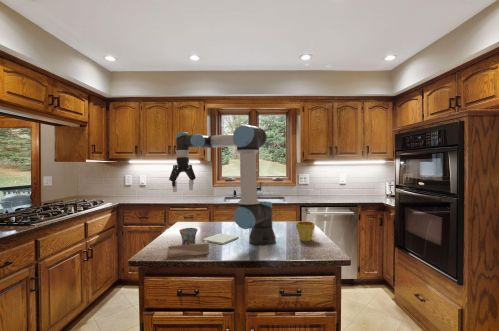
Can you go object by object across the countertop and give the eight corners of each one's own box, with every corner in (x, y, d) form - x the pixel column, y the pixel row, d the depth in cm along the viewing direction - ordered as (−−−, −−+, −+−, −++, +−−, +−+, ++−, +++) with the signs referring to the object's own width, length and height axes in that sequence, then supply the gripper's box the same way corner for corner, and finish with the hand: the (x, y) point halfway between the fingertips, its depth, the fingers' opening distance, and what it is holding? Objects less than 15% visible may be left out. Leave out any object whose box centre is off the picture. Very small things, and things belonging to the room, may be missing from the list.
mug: (197, 252, 139) (197, 231, 139) (178, 253, 138) (178, 232, 138) (198, 245, 151) (198, 226, 151) (181, 246, 150) (180, 227, 150)
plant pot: (313, 243, 153) (313, 225, 152) (295, 241, 156) (294, 224, 156) (315, 238, 162) (315, 221, 162) (297, 236, 166) (297, 220, 166)
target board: (238, 238, 164) (238, 236, 164) (223, 244, 152) (223, 242, 152) (219, 235, 172) (219, 233, 172) (202, 240, 160) (202, 239, 160)
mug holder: (170, 246, 151) (170, 236, 151) (206, 243, 155) (206, 234, 155) (168, 256, 133) (168, 246, 133) (208, 253, 137) (208, 243, 137)
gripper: (192, 157, 185) (193, 189, 185) (162, 156, 164) (163, 192, 164) (200, 157, 181) (201, 189, 181) (171, 156, 160) (171, 193, 160)
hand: (183, 191), depth 172 cm, fingers open, 13 cm apart
